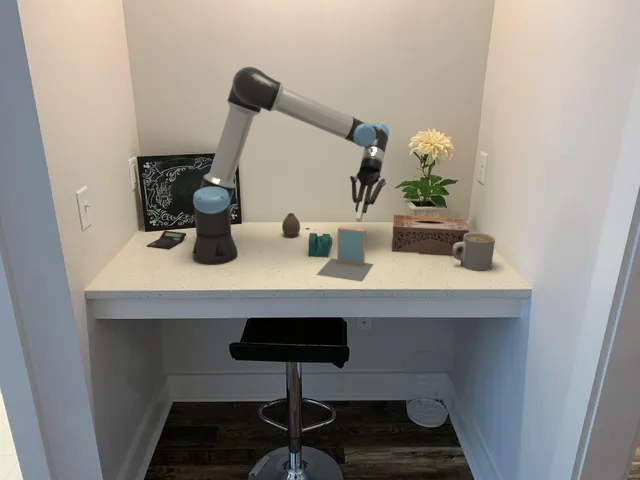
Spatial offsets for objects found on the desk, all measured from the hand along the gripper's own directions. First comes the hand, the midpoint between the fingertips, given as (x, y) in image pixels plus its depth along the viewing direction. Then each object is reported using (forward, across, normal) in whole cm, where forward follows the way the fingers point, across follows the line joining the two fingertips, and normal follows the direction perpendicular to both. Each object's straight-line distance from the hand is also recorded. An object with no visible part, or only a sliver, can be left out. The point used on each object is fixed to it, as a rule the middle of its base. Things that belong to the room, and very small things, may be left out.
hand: (358, 220), depth 172 cm
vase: (+1, -30, +18) cm, 35 cm away
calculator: (+17, -70, +2) cm, 72 cm away
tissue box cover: (-2, +22, +22) cm, 31 cm away
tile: (+14, 0, +4) cm, 15 cm away
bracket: (+8, -14, +11) cm, 20 cm away
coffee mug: (+6, +38, +13) cm, 41 cm away
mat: (+19, 0, 0) cm, 19 cm away
